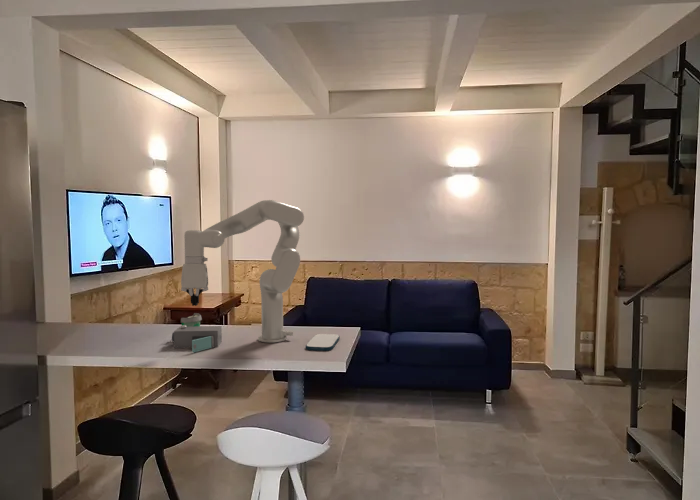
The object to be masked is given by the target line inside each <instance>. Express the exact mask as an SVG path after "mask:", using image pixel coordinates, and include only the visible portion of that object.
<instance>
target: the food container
mask: <svg viewBox="0 0 700 500" xmlns="http://www.w3.org/2000/svg"><path fill="white" fill-rule="evenodd" d="M202 320H203V318H202V315H201V314H200V313H197V312H194V313H193V315H189V316H187V317H181V318H180V323H181V326H182V325H186V326H187V327H196V326H201V321H202Z"/></svg>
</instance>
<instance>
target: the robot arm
mask: <svg viewBox="0 0 700 500" xmlns="http://www.w3.org/2000/svg"><path fill="white" fill-rule="evenodd" d="M304 219H305V215H304V212H303V211H302V210H301V209H300V208H299V207H296V206H293V205H290V204H286V203H283V202H280V201H276V200H273V199H267V200H259V201H258V202H256V203H253V205H251V206H249V207H247V208H246V209H242V211H239V212H238V213H236V214H233V215H232V216H230V217H228V218H227V217H226V218H225V219H223V220H221V221H219V222H216V223H214V224H213V225H211V226H208V227H207V228H206V229H204V230H203V231H202V230H197V229H196V230H195V229H194V230H192V229H191V230H186V231H185V232H184V236H183V237H184V241H183V242H184V263H183V264H182V268H181V269H182V270H181V278H180V279H181V281H180V283H181V284H180V285H181V289H180V290H181V291H182V292H184V293H185V292H186V293H187V294H188V295H189V296H190V304H191V306H193V307H194V306H195V307H196V306H198V305H199V303H200V295H201V294H202V293H203V292H208V291H209V275H208V267H207V263H205V262H208V257H205V248H209V249H218V248H220V247H222V246H223V244H224V243H225V239H227V238H229V237H231V236H234V235H239V234H243V233H247V232H248V231H250V230H252V229H253V228H255V227H257V226H258V225H260V224H263V223H265V222H266V221H273V222H277V224H278V225H279V227H280V236H279V239H278V241H277V243H276V245H275V248H274V250H273V252H272V255H271V263H272V265H273V266H274V267H275V269H274V268H270V269H269V268H268V269H266V270H264V271H263V272H262V273H261V274H260V277H259V289H260V295H261V305H260V306H261V335H259V336H258V339H257V340H258V341H259V342H262V343H268V344H269V343H270V344H271V343H280V342H284V341H287V336H290V337H291V336H293V337H294V331H293V330H292V331H291V330H285V328H284V298H283V297H284V296H283V293H286V292H287V291H288V290H289V289H290V287H291V286H292V284H293V281H294V279H295V276H296V274H297V272H298V270H299V267H300V263H301V255H300V253H299V252H298V250H297V246H298V243H299V240H300V230H299V226H301V225H302V224H303V222H304ZM194 289H195V291H194Z"/></svg>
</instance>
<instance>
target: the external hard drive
mask: <svg viewBox="0 0 700 500" xmlns="http://www.w3.org/2000/svg"><path fill="white" fill-rule="evenodd" d="M340 339H341V338H340V335H339V334H336V333H335V334H334V333H318V334H315V335H313V337H311V339H310V340H308V341H307V343H306V345H305V349H306V350H307V351H315V352H317V351H318V352H330V351H332V350H333V349H334V348H335V346H336V345H337V343H338V342H339V341H340Z"/></svg>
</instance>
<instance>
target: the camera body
mask: <svg viewBox="0 0 700 500" xmlns="http://www.w3.org/2000/svg"><path fill="white" fill-rule="evenodd" d="M222 330H223V329H222V325H217V326H215V325H213V326H211V325H207V326H206V325H202V326H201V325H200V326H196V327H187V326H186V325H182V324H181V325H180V326H179V327H177V328H176V329H175V330H174V331H173V332H172V335H171V341H172V342H173V346H174V347H173V348H175V349H181V348H184V347H192V340H196V339H200V338H204V337H209V336H214V348H219V346H220V345H221V344H222V342H223V341H222V334H223V333H222Z"/></svg>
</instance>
